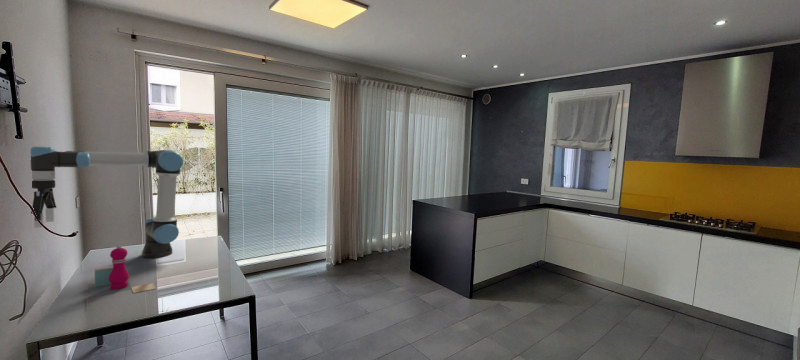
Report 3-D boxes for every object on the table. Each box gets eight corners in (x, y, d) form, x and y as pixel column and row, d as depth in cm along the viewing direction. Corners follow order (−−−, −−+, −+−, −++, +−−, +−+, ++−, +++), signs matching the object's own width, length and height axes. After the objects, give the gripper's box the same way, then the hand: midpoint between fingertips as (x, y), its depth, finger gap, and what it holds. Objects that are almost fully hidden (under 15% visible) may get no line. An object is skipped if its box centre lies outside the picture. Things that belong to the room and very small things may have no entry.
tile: (117, 281, 155) (117, 265, 154) (118, 283, 154) (117, 266, 153) (94, 285, 149) (94, 269, 149) (95, 287, 148) (94, 270, 147)
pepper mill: (105, 288, 147) (104, 245, 146) (123, 282, 154) (123, 242, 153) (114, 291, 145) (114, 248, 143) (132, 285, 151) (132, 244, 150)
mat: (127, 278, 160) (127, 278, 160) (131, 289, 148) (131, 289, 148) (88, 285, 150) (88, 284, 150) (89, 297, 138) (89, 297, 138)
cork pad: (152, 284, 155) (152, 283, 155) (155, 289, 149) (155, 288, 149) (131, 288, 149) (131, 287, 149) (133, 294, 144) (133, 292, 144)
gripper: (42, 177, 158) (43, 219, 160) (19, 182, 138) (21, 230, 139) (63, 177, 162) (64, 218, 164) (44, 182, 142) (46, 229, 143)
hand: (44, 224), depth 152 cm, fingers open, 13 cm apart
